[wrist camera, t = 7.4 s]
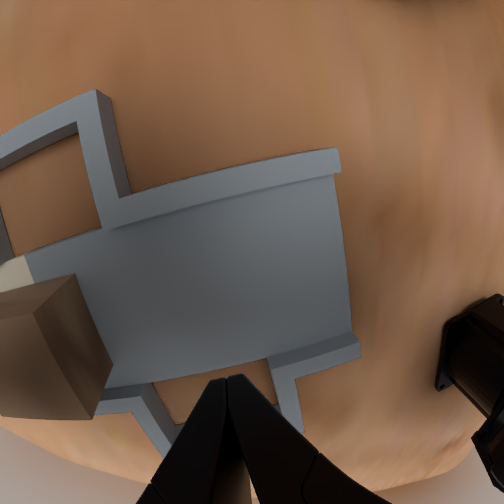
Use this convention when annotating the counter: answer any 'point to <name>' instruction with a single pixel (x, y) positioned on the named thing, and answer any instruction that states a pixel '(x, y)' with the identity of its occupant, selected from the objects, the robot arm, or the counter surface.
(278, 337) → the trap tray
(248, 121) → the counter surface
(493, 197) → the counter surface
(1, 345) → the walnut block
